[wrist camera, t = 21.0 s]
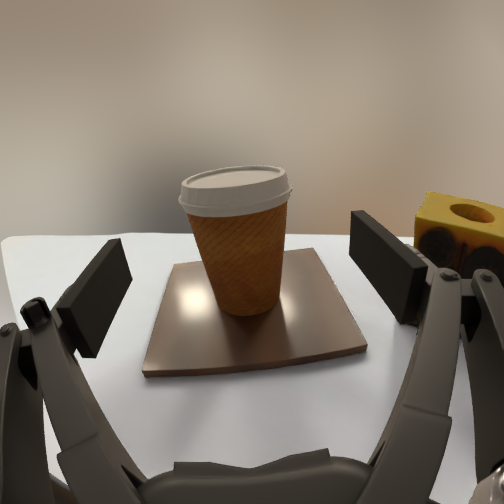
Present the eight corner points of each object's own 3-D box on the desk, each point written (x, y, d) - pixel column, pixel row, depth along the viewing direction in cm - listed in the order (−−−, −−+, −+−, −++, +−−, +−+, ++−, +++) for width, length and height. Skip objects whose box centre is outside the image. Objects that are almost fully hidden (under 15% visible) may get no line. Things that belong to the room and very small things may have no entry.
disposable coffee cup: (189, 327, 25) (157, 195, 20) (211, 273, 33) (194, 170, 28) (298, 327, 24) (294, 184, 18) (295, 270, 32) (290, 161, 27)
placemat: (144, 377, 21) (141, 370, 20) (175, 269, 37) (174, 263, 36) (366, 351, 21) (368, 344, 21) (313, 253, 37) (313, 247, 37)
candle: (393, 321, 24) (411, 217, 19) (413, 271, 30) (424, 188, 26) (489, 348, 18) (528, 245, 13) (487, 290, 24) (508, 207, 20)
